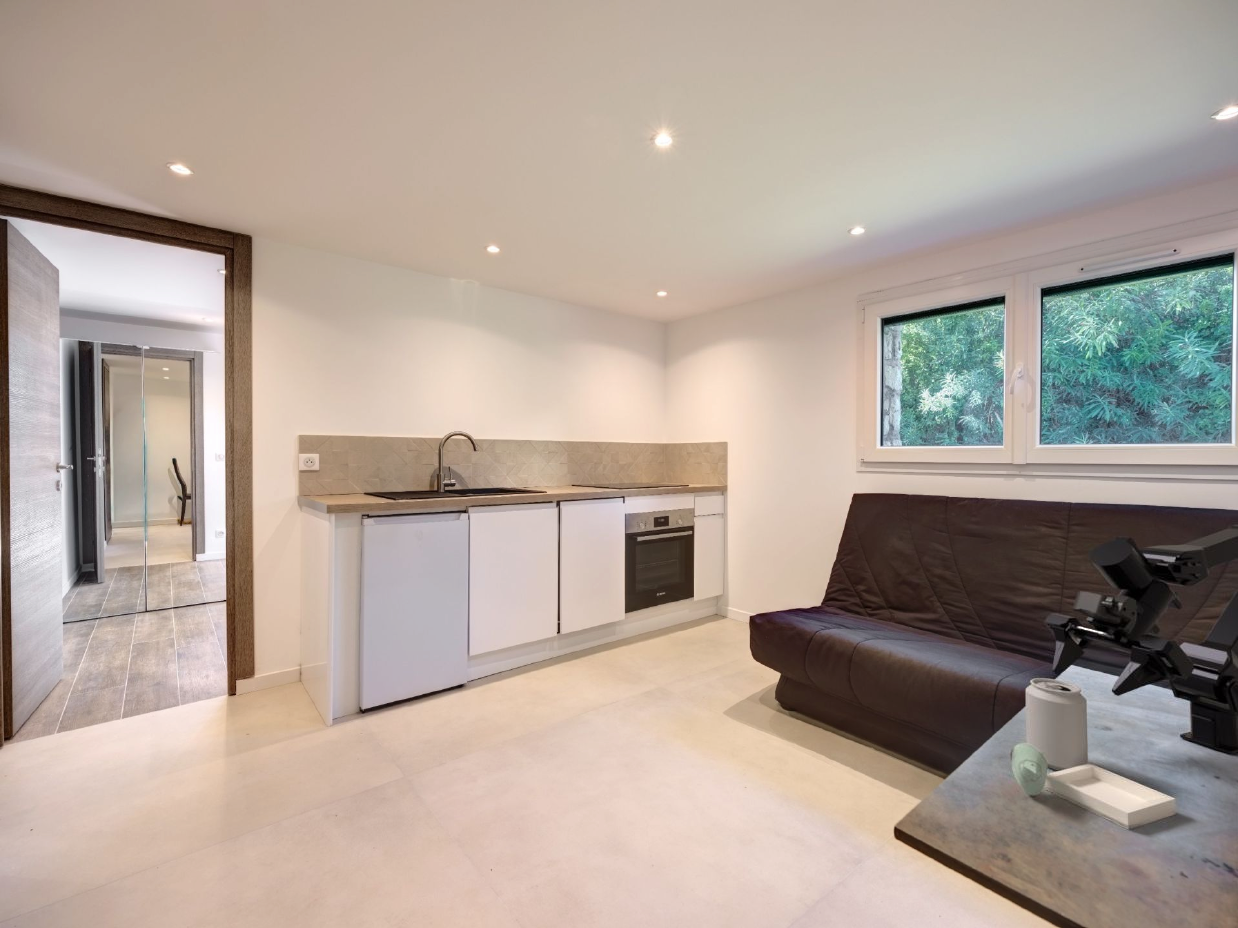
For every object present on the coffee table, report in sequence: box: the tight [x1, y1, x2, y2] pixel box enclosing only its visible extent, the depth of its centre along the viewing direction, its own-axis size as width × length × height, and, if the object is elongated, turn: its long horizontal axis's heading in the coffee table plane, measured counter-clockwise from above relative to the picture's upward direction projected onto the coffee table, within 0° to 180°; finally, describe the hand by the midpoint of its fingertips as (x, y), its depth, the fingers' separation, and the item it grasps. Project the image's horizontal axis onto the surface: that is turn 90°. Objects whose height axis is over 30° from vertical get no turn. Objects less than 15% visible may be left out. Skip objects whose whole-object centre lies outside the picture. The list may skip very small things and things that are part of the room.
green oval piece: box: [1009, 742, 1048, 797], centre depth 77 cm, size 8×4×7 cm, turn 136°
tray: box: [1044, 762, 1176, 830], centre depth 76 cm, size 10×10×2 cm
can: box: [1025, 677, 1089, 771], centre depth 87 cm, size 8×8×12 cm
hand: (1082, 682), depth 88 cm, fingers open, 9 cm apart
